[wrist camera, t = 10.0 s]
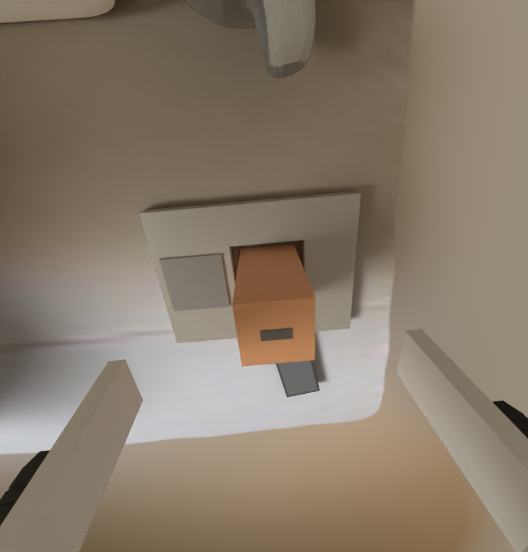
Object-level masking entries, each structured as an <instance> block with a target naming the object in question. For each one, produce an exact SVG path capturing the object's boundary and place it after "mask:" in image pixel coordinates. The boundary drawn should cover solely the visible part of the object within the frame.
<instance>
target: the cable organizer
mask: <svg viewBox="0 0 528 552" xmlns="http://www.w3.org/2000/svg"><path fill="white" fill-rule="evenodd" d="M114 4H115V0H0V23H7V22H23V21H38V20H54V19H70V18H85V17H93V16H97V15H101V14H104V13H106V12H108V11H109V10H111V9H112V8H113V6H114Z"/></svg>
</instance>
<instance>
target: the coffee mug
mask: <svg viewBox="0 0 528 552" xmlns="http://www.w3.org/2000/svg"><path fill="white" fill-rule="evenodd" d="M185 1H186V2H187V3H188V4H189V5H190V6H191V7H192V8H193V9H194V10H195V11H197V12H198V13H199V14H201V15H202V16H204V17H206V18H207V19H209V20H211V21H213V22H215V23H217V24H220V25H223V26H226V27H232V28H253V27H256V30H257V34H258V38H259V42H260V46H261V50H262V54H263V59H264V62H265V65H266V68H267V70H268V72H269V74H270V75H271V76H273V77H277V78H281V77H286V76H290V75H292V74H294V73H295V72H297V71H299V70H301V69H302V68H303V67H304V65H305V64H306V62H307V61H308V59H309V55H310V52H311V49H312V45H313V39H314V31H315V17H316V12H315V0H185Z"/></svg>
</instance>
